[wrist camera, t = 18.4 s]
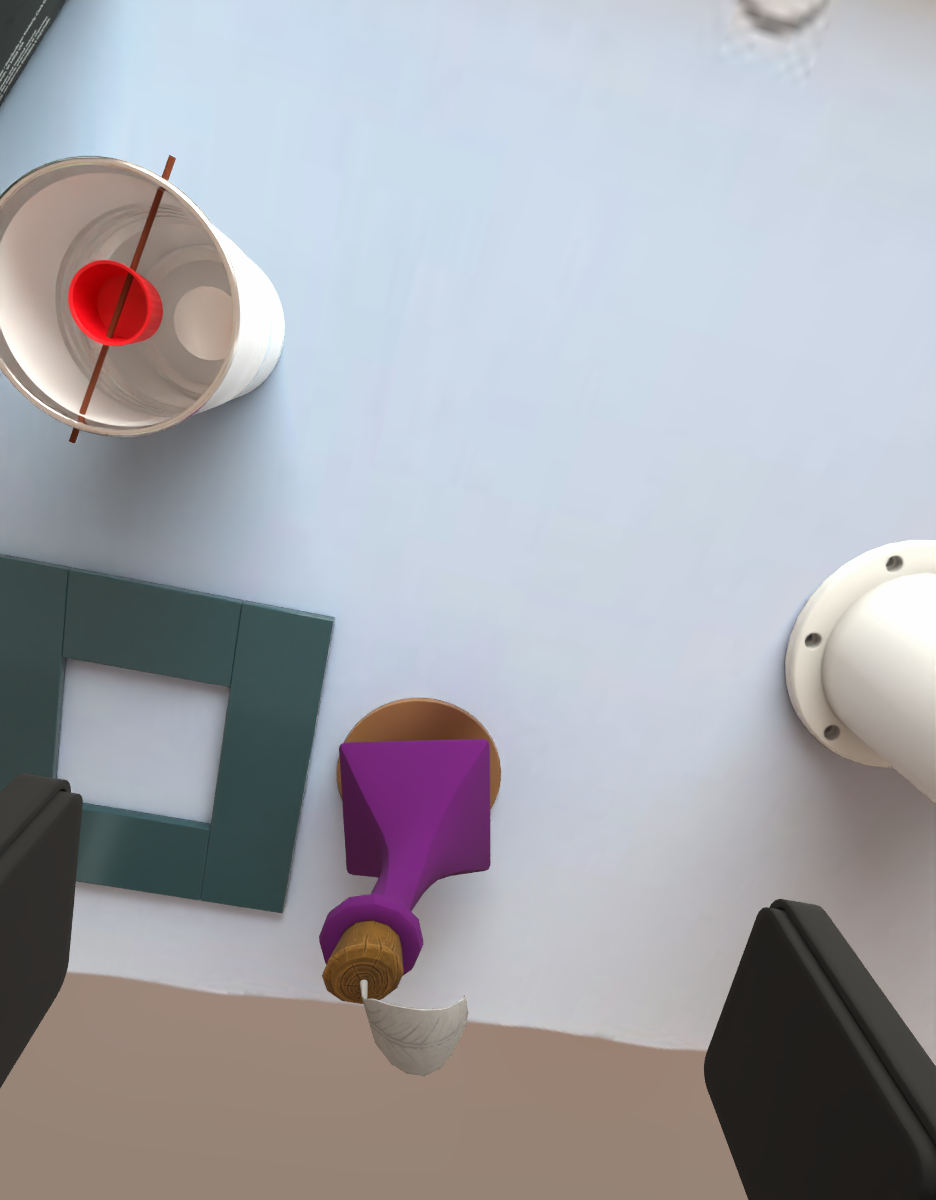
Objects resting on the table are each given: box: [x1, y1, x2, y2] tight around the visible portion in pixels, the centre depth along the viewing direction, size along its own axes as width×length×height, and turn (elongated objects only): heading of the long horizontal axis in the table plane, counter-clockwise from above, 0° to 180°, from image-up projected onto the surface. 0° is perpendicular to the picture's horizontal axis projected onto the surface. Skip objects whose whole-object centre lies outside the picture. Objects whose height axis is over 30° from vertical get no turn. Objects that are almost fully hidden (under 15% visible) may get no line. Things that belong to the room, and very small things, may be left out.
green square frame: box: [0, 554, 335, 913], centre depth 42 cm, size 18×18×1 cm
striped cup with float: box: [0, 155, 285, 443], centre depth 31 cm, size 10×8×12 cm
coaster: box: [337, 698, 501, 809], centre depth 43 cm, size 9×9×1 cm
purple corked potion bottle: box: [319, 739, 490, 1076], centre depth 35 cm, size 8×8×18 cm
